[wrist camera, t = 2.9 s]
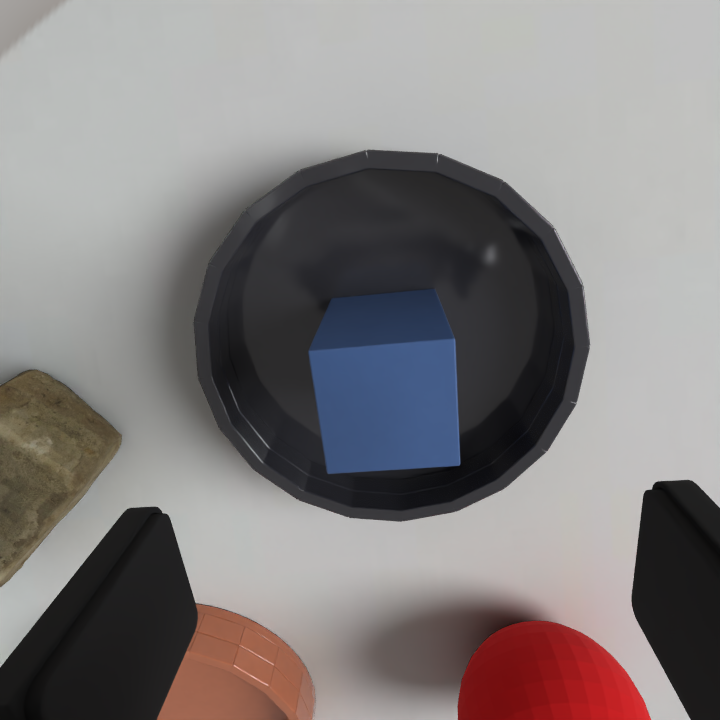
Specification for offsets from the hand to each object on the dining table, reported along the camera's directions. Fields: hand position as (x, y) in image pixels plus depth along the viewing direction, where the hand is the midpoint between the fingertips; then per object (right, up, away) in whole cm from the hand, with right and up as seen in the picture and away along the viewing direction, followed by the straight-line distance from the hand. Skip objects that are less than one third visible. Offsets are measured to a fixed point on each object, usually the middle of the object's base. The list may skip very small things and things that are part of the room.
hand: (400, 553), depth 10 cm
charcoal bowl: (0, +5, +12) cm, 13 cm away
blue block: (0, +5, +12) cm, 13 cm away
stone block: (-18, -2, +16) cm, 24 cm away
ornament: (+9, -12, +19) cm, 24 cm away
